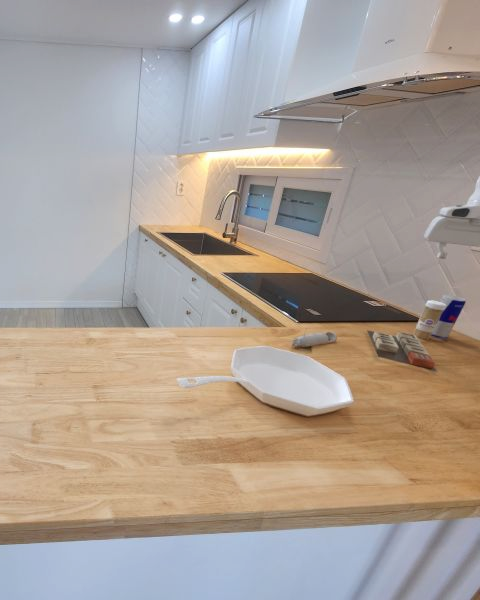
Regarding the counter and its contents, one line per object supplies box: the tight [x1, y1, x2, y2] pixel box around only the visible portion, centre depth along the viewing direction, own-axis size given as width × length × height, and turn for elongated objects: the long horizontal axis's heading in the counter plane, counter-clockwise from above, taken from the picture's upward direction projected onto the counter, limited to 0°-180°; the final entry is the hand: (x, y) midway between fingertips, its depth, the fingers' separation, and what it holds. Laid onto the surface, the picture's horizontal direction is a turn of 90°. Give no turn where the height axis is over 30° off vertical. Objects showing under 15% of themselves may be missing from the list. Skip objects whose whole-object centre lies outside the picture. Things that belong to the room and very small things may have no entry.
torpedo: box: [290, 327, 338, 348], centre depth 106 cm, size 18×5×7 cm, turn 109°
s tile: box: [408, 352, 436, 369], centre depth 98 cm, size 4×4×2 cm
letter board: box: [366, 329, 437, 372], centre depth 106 cm, size 13×22×1 cm, turn 148°
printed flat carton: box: [395, 331, 430, 356], centre depth 106 cm, size 4×16×2 cm, turn 148°
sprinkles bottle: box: [411, 299, 447, 341], centre depth 113 cm, size 5×5×13 cm
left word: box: [373, 331, 399, 353], centre depth 107 cm, size 4×10×2 cm, turn 148°
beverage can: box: [430, 294, 467, 340], centre depth 114 cm, size 6×6×15 cm
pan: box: [176, 345, 355, 418], centre depth 81 cm, size 25×44×6 cm, turn 107°
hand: (462, 261), depth 98 cm, fingers open, 8 cm apart
